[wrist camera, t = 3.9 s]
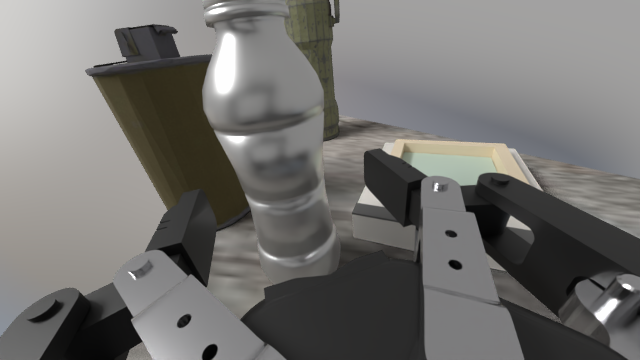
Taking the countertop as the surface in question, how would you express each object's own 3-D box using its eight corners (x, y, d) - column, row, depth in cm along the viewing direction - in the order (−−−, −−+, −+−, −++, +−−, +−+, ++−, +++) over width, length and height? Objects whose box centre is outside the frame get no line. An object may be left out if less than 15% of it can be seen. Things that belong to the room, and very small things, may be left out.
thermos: (297, 130, 55) (263, -74, 38) (346, 126, 54) (334, -89, 36) (289, 143, 48) (242, -103, 30) (345, 140, 46) (331, -125, 28)
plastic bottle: (353, 291, 18) (333, -63, 8) (267, 316, 17) (117, -50, 7) (331, 235, 23) (303, -15, 13) (265, 252, 22) (181, -4, 12)
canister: (265, 184, 34) (222, 24, 24) (239, 233, 25) (152, 12, 15) (198, 187, 35) (131, 37, 25) (151, 236, 27) (17, 34, 16)
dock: (566, 285, 16) (598, 240, 14) (353, 237, 23) (351, 201, 21) (507, 169, 30) (518, 137, 28) (384, 159, 37) (386, 133, 34)
